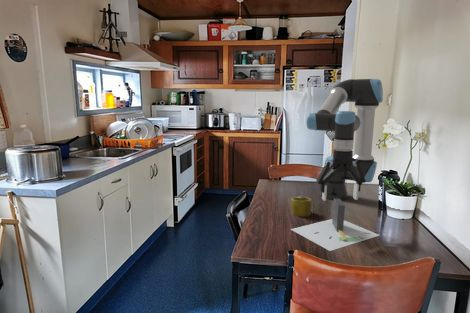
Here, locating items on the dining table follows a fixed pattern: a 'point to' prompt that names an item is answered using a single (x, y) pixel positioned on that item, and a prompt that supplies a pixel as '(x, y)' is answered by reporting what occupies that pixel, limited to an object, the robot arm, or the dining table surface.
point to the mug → (301, 206)
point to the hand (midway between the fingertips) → (339, 199)
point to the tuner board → (334, 234)
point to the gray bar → (338, 216)
